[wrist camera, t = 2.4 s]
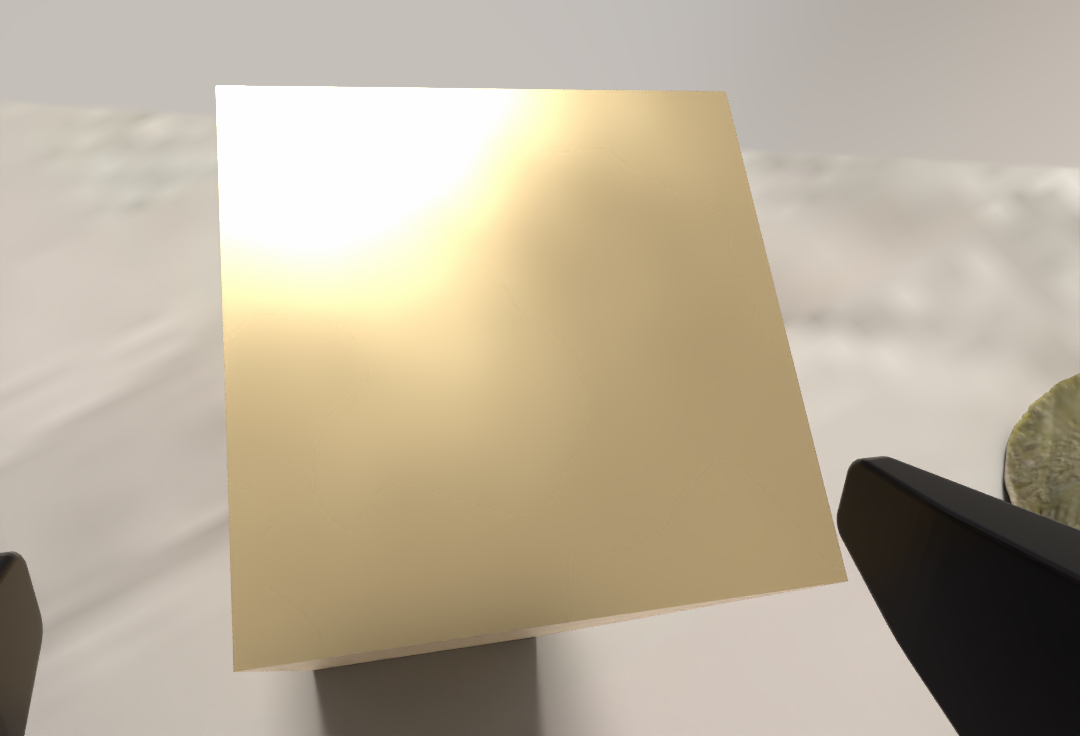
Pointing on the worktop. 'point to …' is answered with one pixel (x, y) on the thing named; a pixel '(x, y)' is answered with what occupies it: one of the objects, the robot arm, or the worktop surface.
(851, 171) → the worktop surface
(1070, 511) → the lime
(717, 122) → the brass post
